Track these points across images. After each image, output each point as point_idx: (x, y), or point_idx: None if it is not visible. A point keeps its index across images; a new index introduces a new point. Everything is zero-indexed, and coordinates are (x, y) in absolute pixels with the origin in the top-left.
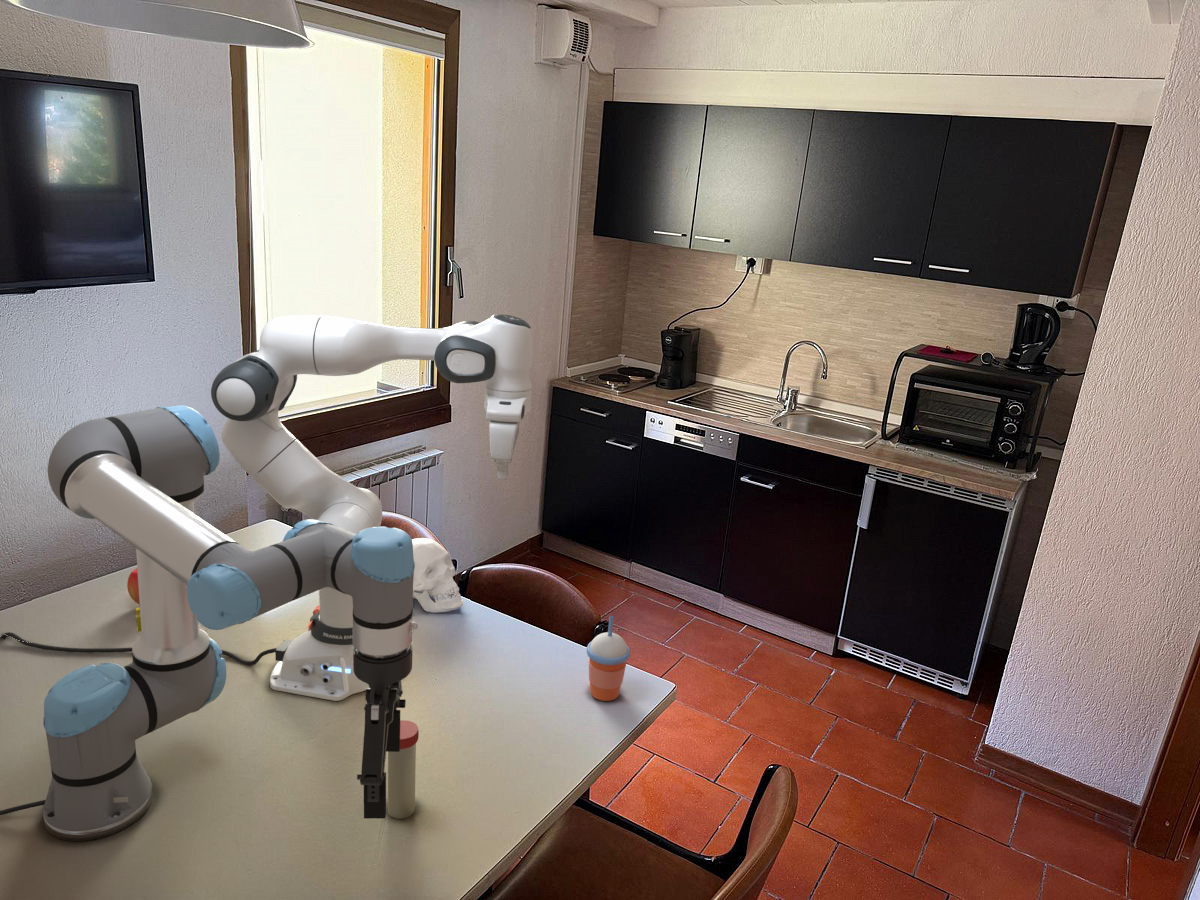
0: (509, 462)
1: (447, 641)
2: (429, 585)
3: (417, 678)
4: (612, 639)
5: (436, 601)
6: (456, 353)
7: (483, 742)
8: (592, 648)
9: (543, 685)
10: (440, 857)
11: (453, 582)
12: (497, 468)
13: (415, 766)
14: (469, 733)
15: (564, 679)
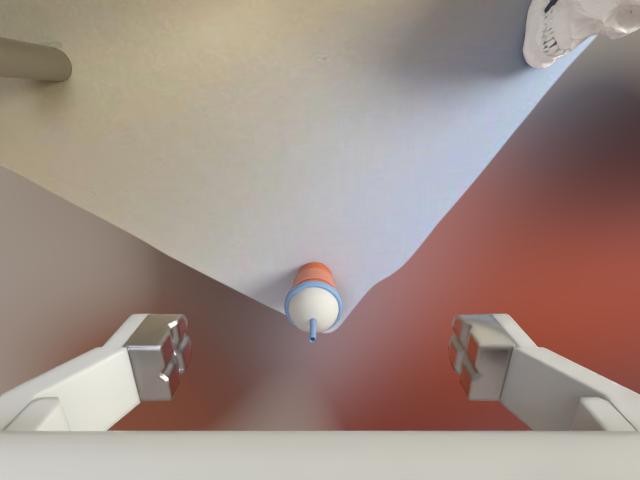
0: (449, 354)
1: (432, 57)
2: None
3: (324, 27)
4: (304, 323)
5: (545, 14)
6: None
7: (197, 145)
8: (303, 292)
9: (324, 208)
10: (6, 123)
11: (572, 41)
12: (76, 358)
13: (16, 77)
14: (210, 126)
15: (340, 232)
